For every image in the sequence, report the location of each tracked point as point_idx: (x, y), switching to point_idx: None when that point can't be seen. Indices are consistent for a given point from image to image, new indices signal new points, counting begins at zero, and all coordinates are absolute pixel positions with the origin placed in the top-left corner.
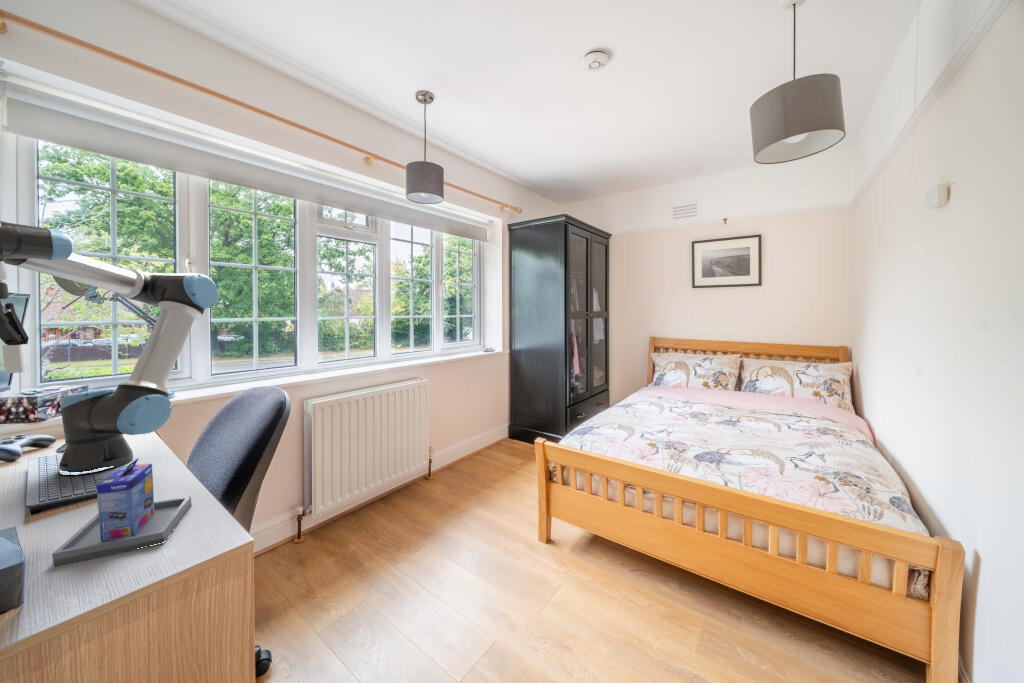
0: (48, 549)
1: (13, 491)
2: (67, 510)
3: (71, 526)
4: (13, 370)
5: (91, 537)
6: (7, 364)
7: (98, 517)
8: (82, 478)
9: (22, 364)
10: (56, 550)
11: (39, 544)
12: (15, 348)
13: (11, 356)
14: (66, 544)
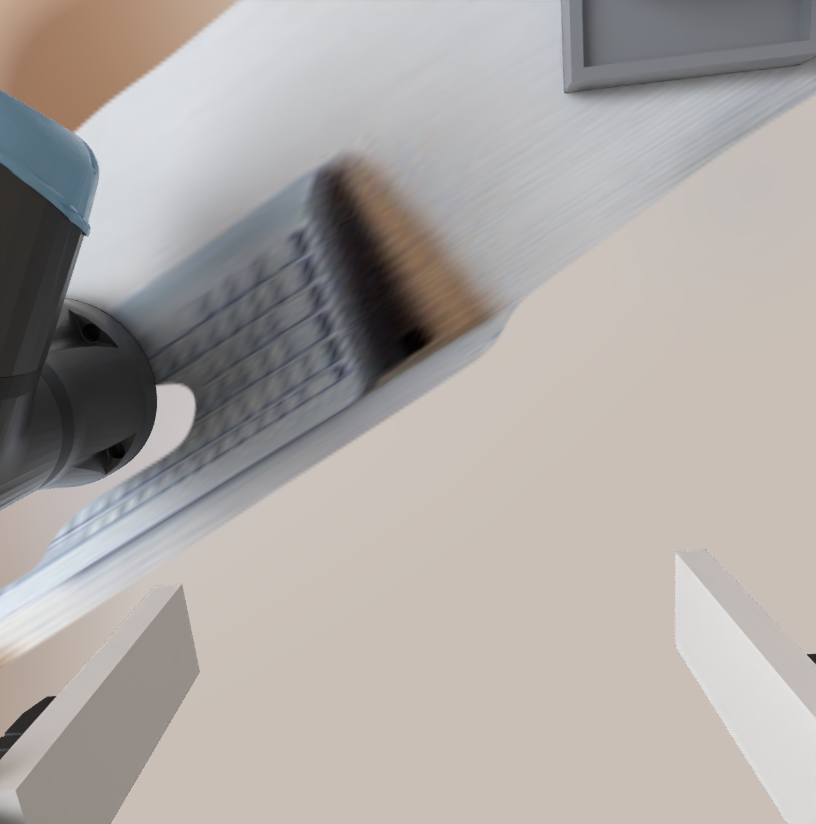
0: (687, 145)
1: (237, 504)
2: (437, 255)
3: (560, 171)
4: (181, 643)
5: (710, 31)
6: (162, 710)
7: (616, 63)
8: (182, 369)
9: (137, 623)
10: (806, 52)
11: (645, 190)
12: (50, 783)
13: (118, 739)
14: (778, 46)
